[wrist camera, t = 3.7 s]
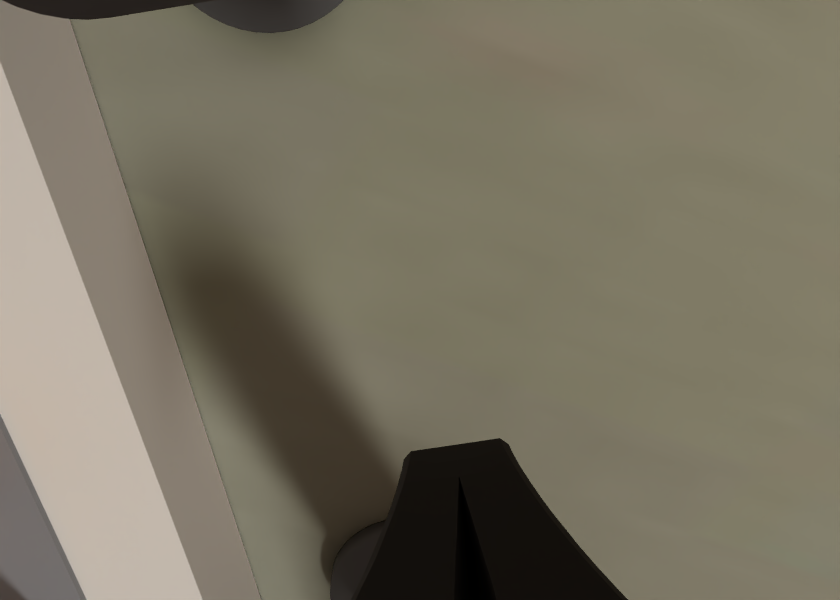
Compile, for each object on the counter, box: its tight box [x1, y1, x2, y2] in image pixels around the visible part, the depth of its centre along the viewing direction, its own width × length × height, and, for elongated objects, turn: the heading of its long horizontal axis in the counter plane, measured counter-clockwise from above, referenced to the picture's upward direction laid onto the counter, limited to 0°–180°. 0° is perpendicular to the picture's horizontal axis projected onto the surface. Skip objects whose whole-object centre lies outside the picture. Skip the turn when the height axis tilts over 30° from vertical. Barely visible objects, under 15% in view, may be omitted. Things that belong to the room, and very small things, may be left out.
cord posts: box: [2, 0, 385, 600], centre depth 12 cm, size 4×20×9 cm, turn 9°
